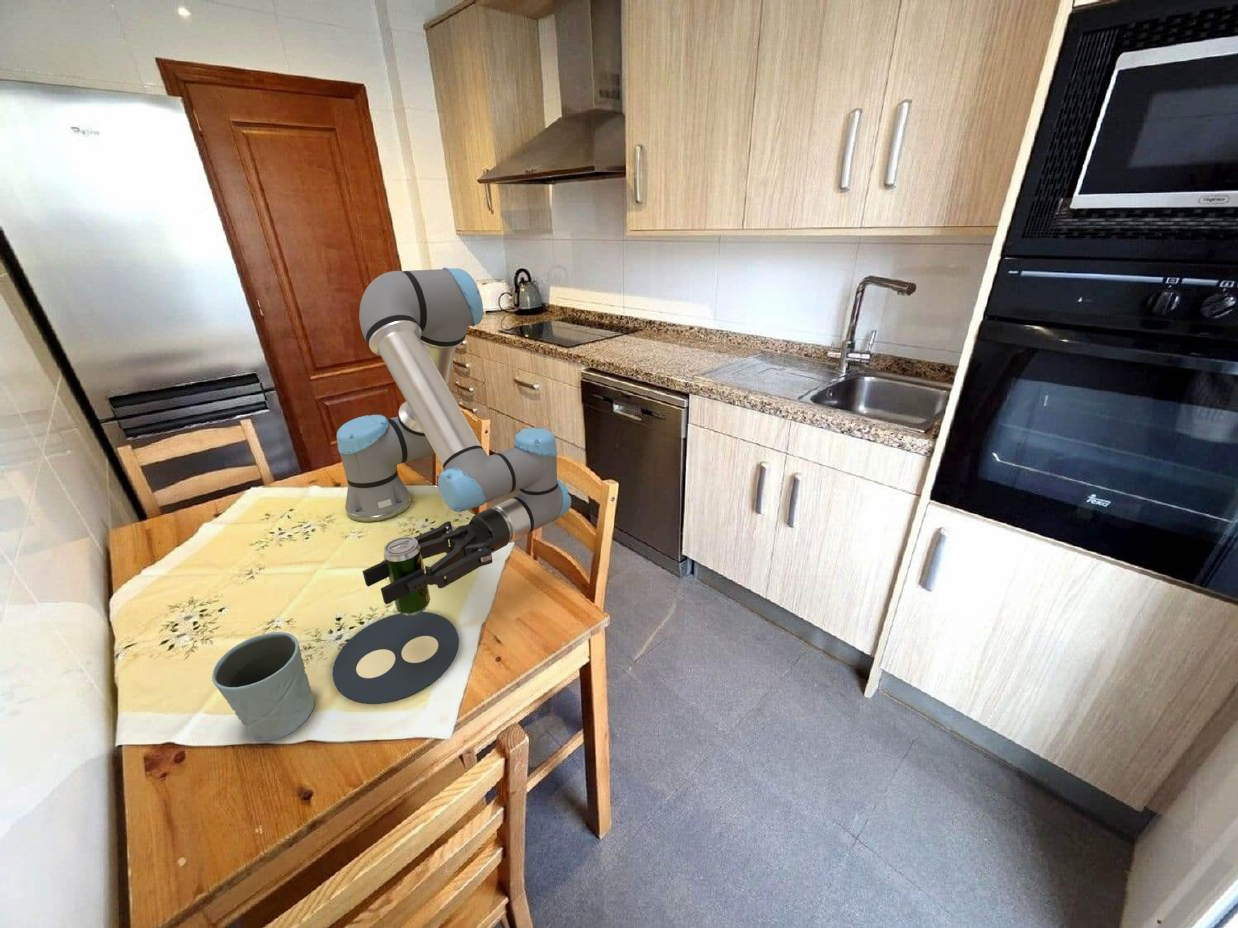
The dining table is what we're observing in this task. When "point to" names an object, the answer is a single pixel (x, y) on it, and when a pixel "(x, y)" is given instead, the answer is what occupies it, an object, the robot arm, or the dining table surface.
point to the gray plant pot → (266, 685)
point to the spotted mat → (395, 657)
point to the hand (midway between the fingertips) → (374, 587)
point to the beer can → (406, 573)
